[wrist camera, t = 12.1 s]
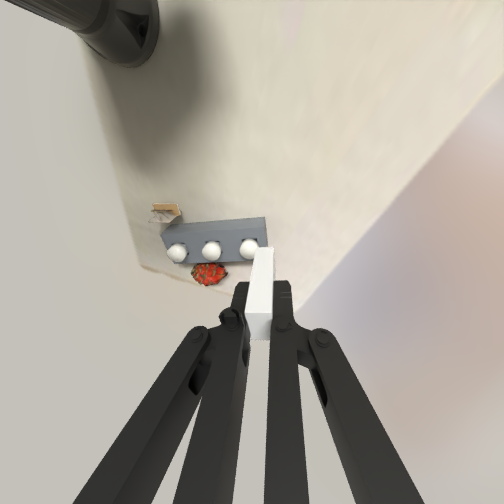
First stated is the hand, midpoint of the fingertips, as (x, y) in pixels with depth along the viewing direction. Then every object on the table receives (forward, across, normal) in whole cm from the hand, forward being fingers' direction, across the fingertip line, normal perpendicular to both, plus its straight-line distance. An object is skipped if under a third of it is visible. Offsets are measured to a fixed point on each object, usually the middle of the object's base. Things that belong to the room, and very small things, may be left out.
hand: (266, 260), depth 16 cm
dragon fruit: (+33, -22, -26) cm, 47 cm away
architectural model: (+33, -29, -5) cm, 44 cm away
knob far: (+31, -27, -15) cm, 44 cm away
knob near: (+32, -7, -15) cm, 36 cm away
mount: (+32, -17, -15) cm, 40 cm away
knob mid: (+32, -17, -15) cm, 39 cm away
